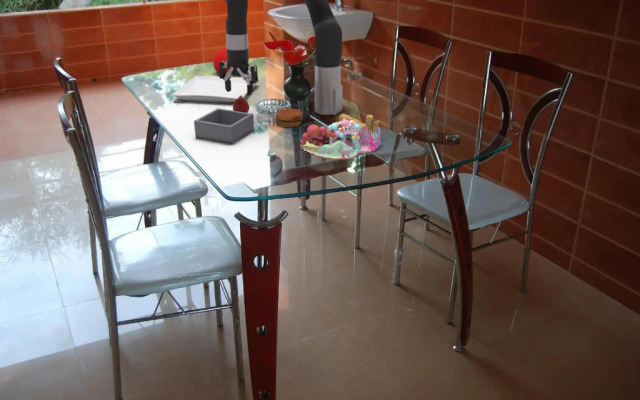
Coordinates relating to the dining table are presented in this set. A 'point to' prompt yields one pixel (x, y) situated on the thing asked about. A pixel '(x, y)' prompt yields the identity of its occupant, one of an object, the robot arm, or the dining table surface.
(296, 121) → the burger
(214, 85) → the square plate
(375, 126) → the candy dessert platter
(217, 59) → the tomato
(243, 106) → the onion
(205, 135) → the bin
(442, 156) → the dining table surface
